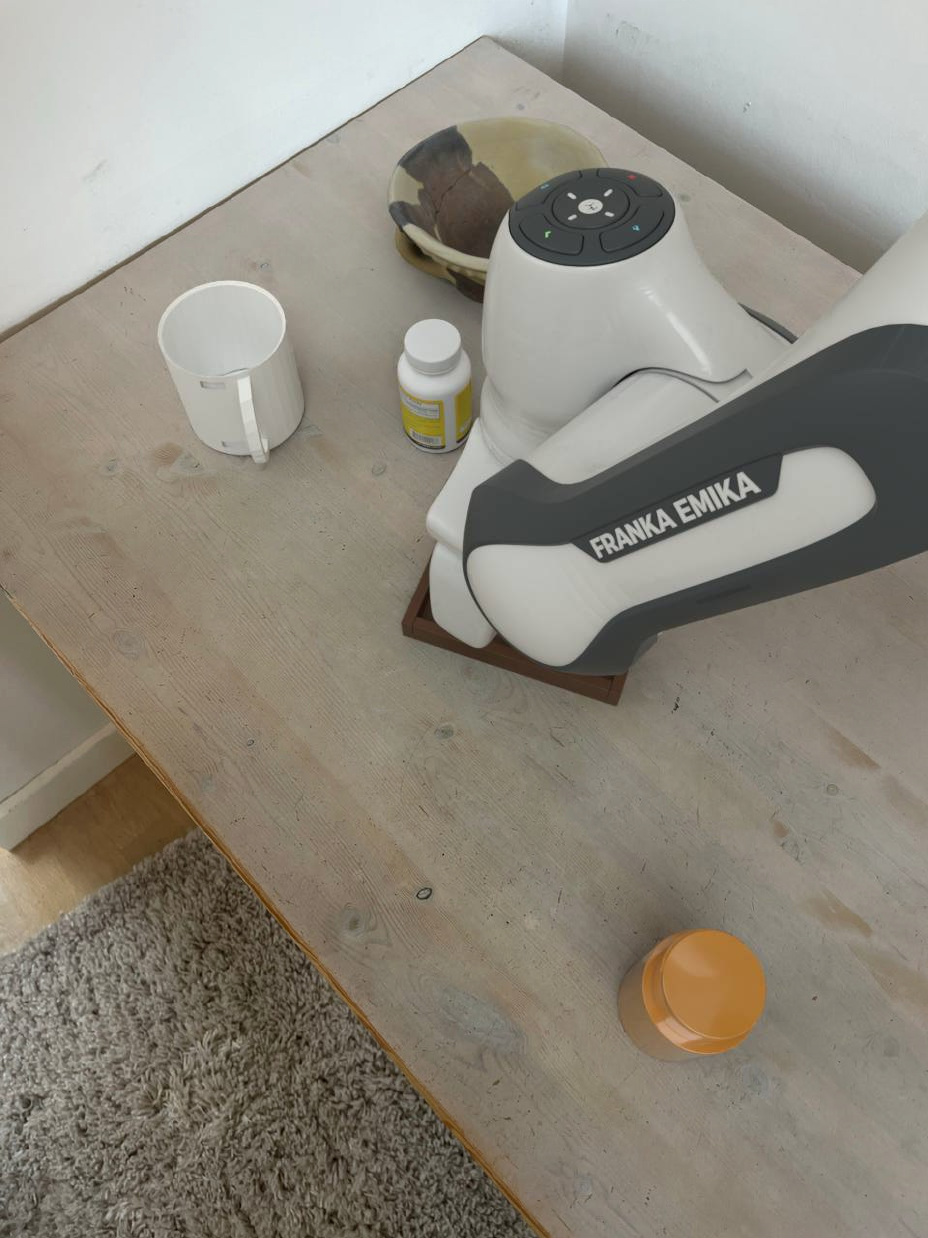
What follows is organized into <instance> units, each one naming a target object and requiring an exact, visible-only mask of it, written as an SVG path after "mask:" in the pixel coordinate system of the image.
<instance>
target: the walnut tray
mask: <svg viewBox="0 0 928 1238" xmlns="http://www.w3.org/2000/svg"><path fill="white" fill-rule="evenodd" d="M435 546H436V544H435V545H434V548H435ZM434 548H433V550H432V552H431V553H430V557H429V559H428V561H427V564H426V566H425V567H424V570H423V572H422V575H421V577H420V579H419V581H418V584H417V586H416V587H415V591H414V593H413V595H412V597H411V599H410V601H409V604H408V606H407V608H406V611H405V613H404V615H403V617H402V620H401V631H402V635H403V636H404V637H407V638H410V639H412V640H416V641H419V642H422V643H425V644H428V645H431V646H434V647H437V648H440V649H443V650H446V651H448V652H452V653H455V654H458V655H461V656H464V657H468V658H470V659H472V660H476V661H478V662H481V663H485V664H487V665H491V666H495V667H496V668H500V669H503V670H506V671H509V672H512V673H515V674H517V675H521V676H524V677H527V678H530V679H533V680H536V681H539V682H542V683H545V684H548V685H551V686H554V687H557V688H559V689H563V690H565V691H569V692H571V693H574V694H577V695H581V696H583V697H587V698H589V699H593V700H596V701H599V702H602V703H604V704H608V705H611V706H614V707H617V706H618V704H619V701H620V698H621V695H622V693H623V691H624V687H625V683H626V680H627V677H628V673H629V671H630V669H629V670H628V671H627V672H625V673H624V674H621V675H605V676H593V675H578V674H571V673H565V672H560V671H555V670H550V669H547V668H544V667H542V666H539V665H537V664H535V663H534V662H532V661H530V660H528V659H527V658H525V657H524V656H522V655H521V654H520V653H518V652H517V651H516V650H514V649H513V648H512V647H511V646H510V645H509V644H508V643H506V642H505V641H504V640H503V639H502V638H501V637H500V636H499V635H498V633H497V634H496V635H495V637H494V638H493V640H492V641H491V642H490V643H489V644H488V645H487V646H485V647H482V648H475V647H472V646H470V645H468V644H466V643H464V642H463V641H461V640H459V639H458V638H456V637H455V636H453V635H452V634H450V633H449V632H447V631H446V630H445V629H443V628H442V627H441V626H440V625H438V624H437V622H436V621H435V620H434V617H433V614H432V609H431V600H430V564H431V558H432V555H433V551H434Z"/></svg>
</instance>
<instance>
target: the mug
mask: <svg viewBox="0 0 928 1238" xmlns="http://www.w3.org/2000/svg"><path fill="white" fill-rule="evenodd" d="M157 342H158V345H159V348H160V350H161V353H162V355H163V358H164V360H165V363H166V365H167V368H168V371H169V373H170V375H171V378H172V381H173V383H174V385H175V388H176V391H177V393H178V396H179V397H180V400H181V402H182V405H183V408H184V410H185V413H186V416H187V418H188V420H189V422H190V426H191V428H192V430H193V432H194V433H195V435H196V436H197V438H198V439H199V440H200V441H201V442H202V443H204V444H205V445H206V446H208V447H210V449H213V450H215V451H217V452H220V453H222V454H223V453H224V454H226V455H230V456H231V455H232V456H242V457H243V456H251V457H252V459H253V462H254V464H255V465H257V464H264V463H268V461H270V451H272V450H273V449H275V448H276V447H278V446H280V445H281V444H283V443H284V442H285V441H286V440H288V439H289V438H290V437H291V436H292V435H293V433H295V431H296V430H297V428H298V427H299V425H300V423H301V421H302V419H303V415H304V412H305V399H304V394H303V390H302V384H301V380H300V377H299V371H298V368H297V367H298V366H297V364H296V359H295V354H294V349H293V344H292V341H291V335H290V332H289V328H288V323H287V318H286V316H285V311H284V309H283V306H282V305H281V303H280V301H278V299H277V298H276V297H275V296H274V295H273V294H271V293H270V292H269V291H268V290H266V289H264V288H263V287H261V286H258V285H257V284H253V283H250V282H247V281H240V280H234V279H233V280H218V281H211V282H207V283H204V284H200V285H197V286H195V287H193V288H190V289H189V290H187V291H185V292H184V293H182V294H181V295H179V296H178V297H176V298H175V300H173V301H172V302H171V304H169V305H168V306H167V308H166V309H165V311H164V312H163V314H162V316H161V318H160V321H159V322H158V328H157Z"/></svg>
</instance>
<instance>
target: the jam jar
mask: <svg viewBox="0 0 928 1238" xmlns="http://www.w3.org/2000/svg"><path fill="white" fill-rule="evenodd" d="M617 996H618V997H617V1009H618V1016H619V1020H620V1022H621V1025H622V1028H623V1030H624V1032H625V1034H626V1035H627V1037H628V1038H629V1040H630V1041H631V1042H632V1043H633V1044H634V1045H635V1046H636V1047H637V1048H638V1049H639V1050H640V1051H641V1052H642V1053H644V1054H646V1055H647V1056H649V1057H650V1058H653V1059H655V1060H658V1061H661V1062H667V1063H680V1062H686V1061H690V1060H695V1059H700V1058H704V1057H709V1056H714V1055H717V1054H722V1053H726V1052H727V1051H730V1050H732V1049H734V1048H735V1047H737V1046H738V1045H740V1044H741V1043H743V1042H744V1040H746V1038H748V1036H749V1035H750V1034H751V1032H752V1030H754V1027H755V1025H756V1024H757V1022H758V1021H759V1019H760V1018H761V1016H762V1014H763V1012H764V1009H765V1005H766V1001H767V981H766V977H765V973H764V970H763V967H762V965H761V963H760V961H759V959H758V958H757V956H756V954H755V953H754V952H753V951H752V950H751V948H749V947H748V945H746V944H745V942H744V941H743V940H741V939H739V938H737V936H735V935H733V934H732V933H729V932H726V931H723V930H720V929H718V928H707V927H704V928H703V927H702V928H691V929H684V930H680V931H677V932H675V933H671V934H670V935H668V936H666V937H665V938H663V939H662V940H661V941H660V942H659V943H657V944H656V945H655V946H654V947H653V948H651V950H649V951H648V952H647V953H646V954H645V955H643V957H641V958H640V959H639V960H638V961H637V962H635V964H633V965H632V966H631V967H630V968H629V969H628V971H627V972H626V973H625V975H624V977H623V979H622V981H621V983H620V986H619V990H618V995H617Z"/></svg>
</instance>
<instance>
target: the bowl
mask: <svg viewBox="0 0 928 1238" xmlns="http://www.w3.org/2000/svg"><path fill="white" fill-rule="evenodd" d="M588 168H610V167H609V165H608V163H607V161H606V159H605V157H604V156H603V154H602V152H601V151H600V149H599V148H598V147H597V146H596V145H595V144H594V143H593V142H592V141H591V140H589V139H588V138H587V137H585V135H583V134H581V133H579V132H578V131H576V130H575V129H573V128H571V127H570V126H567V125H564V124H562V123H558V122H554V121H550V120H547V119H543V118H535V117H528V116H518V115H517V116H515V115H514V116H513V115H509V116H493V117H487V118H479V119H472V120H467V121H463V122H459V123H457V124H454V125H451V126H449V127H447V128H444V129H440V130H439V131H437V132H435V133H433V134H432V135H430V136H427V138H425V139H423V140H421V141H419V142H418V143H416V144H415V145H414V146H413V147H411V148H410V149H408V150H407V151H406V152H405V153H404V154H403V156H402V157H401V158H400V159H399V161H398V162H397V163H396V166H395V167H394V169H393V171H392V174H391V176H390V178H389V182H388V184H387V185H388V186H387V191H386V193H387V195H386V197H387V199H386V200H387V206H388V212H389V214H390V216H391V218H392V220H393V221H394V223H395V224H396V227H395V231H394V244H395V247H396V250H397V252H398V254H399V255H400V256H401V258H402V259H403V260H404V261H405V262H407V263H408V264H410V265H411V266H413V267H414V268H416V269H418V270H420V272H424V273H426V274H428V275H429V276H433V277H437V278H441V279H444V280H447V281H450V282H451V283H452V285H454V286H455V287H456V289H457V291H459V292H460V293H461V294H462V295H464V296H465V297H467V298H468V299H470V300H473V301H476V302H481V303H483V302H484V291H485V283H486V275H487V269H488V264H489V259H490V254H491V250H492V247H493V243H494V240H495V237H496V235H497V232H498V229H499V227H500V224H501V222H502V220H503V219H504V217H505V215H506V213H507V212H508V210H509V209H510V207H511V206H512V205H513V204H514V203H515V202H516V201H518V200H519V199H520V198H522V197H523V196H524V195H526V194H527V193H529V192H530V191H532V190H533V189H535V188H536V187H538V186H539V185H541V184H543V183H545V182H546V181H548V180H550V179H552V178H554V177H557V176H559V175H562V174H564V173H567V172H570V171H574V170H581V169H588Z"/></svg>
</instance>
